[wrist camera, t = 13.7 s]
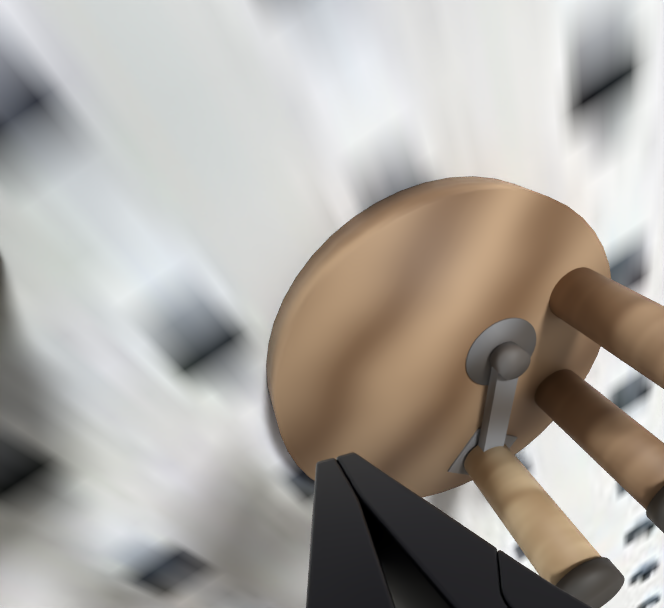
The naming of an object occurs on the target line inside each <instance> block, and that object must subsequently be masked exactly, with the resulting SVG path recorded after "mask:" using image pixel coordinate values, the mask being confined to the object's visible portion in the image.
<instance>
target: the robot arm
mask: <svg viewBox="0 0 664 608" xmlns="http://www.w3.org/2000/svg"><path fill="white" fill-rule="evenodd" d="M306 608H593V607H591V606H589V605H587V604H586V603H584V602H582V601H581V600H579V599H577V598H575V597H574V596H572V595H570V594H569V593H567V592H565V591H564V590H562V589H560V588H558V587H557V586H555V585H553V584H552V583H550V582H548V581H547V580H545V579H544V578H542V577H541V576H539V575H537V574H536V573H534V572H533V571H531V570H530V569H528V568H527V567H525V566H523V565H522V564H520V563H519V562H517V561H516V560H514V559H513V558H511V557H510V556H508V555H507V554H505V553H504V552H503V551H501V550H499V551H498V552H497V549H496V548H495V547H494V546H493V545H491V544H490V543H488V542H487V541H485V540H484V539H482V538H481V537H479V536H478V535H476V534H475V533H473V532H472V531H470V530H469V529H467V528H466V527H464V526H463V525H461V524H460V523H459V522H457V521H456V520H454V519H453V518H451V517H450V516H448V515H447V514H445V513H444V512H442V511H441V510H439V509H438V508H436V507H435V506H433V505H432V504H430V503H429V502H427V501H426V500H425V499H423V498H422V497H420V496H419V495H417V494H416V493H414V492H413V491H411V490H410V489H408V488H407V487H405V486H404V485H402V484H401V483H399V482H398V481H396V480H395V479H393V478H392V477H390V476H389V475H388V474H386V473H385V472H383V471H382V470H380V469H379V468H377V467H376V466H374V465H373V464H371V463H370V462H368V461H367V460H365V459H364V458H362V457H361V456H359V455H358V454H356V453H354V452H352V453H348V454H344V455H340V456H338V457H337V458H336V459H335V458H329V459H326V460H322V461H319V462H317V464H316V472H315V486H314V501H313V515H312V530H311V544H310V558H309V573H308V587H307V602H306Z"/></svg>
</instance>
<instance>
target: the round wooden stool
mask: <svg viewBox="0 0 664 608" xmlns="http://www.w3.org/2000/svg"><path fill="white" fill-rule="evenodd" d="M509 341H511V342H515V343H516V344H517V345H519V346H520V347H521V348H522V349H523V350H524V351H526V352H527V353H528V354H529V355H530V358H531V362H530V365H529V367H528V369H527V370H526V371H525V372H524V373H523V374H522V375H521V376H519V377H518V381H517V386H516V391H515V395H514V400H513V405H512V410H511V414H510V419H509V424H508V428H507V433H506V438H505V442H504V443H505V444H506V446H507V447H508V448H509V449H510V450H511V451H512V453H513V454H514V455H515V454H516V453H518V452H519V451H520V450H522V449H523V448H524V447H526V446H527V445H528V444H529V443H530V442H531V441H533V440H534V439H535V438H536V437H537V436H538V435H539V434H541V433H542V432H543V431H544V430H545V429H546V428H547V427H548V426H549V424H550V423H551V422H552V421H554V422H555V423H556V424H557V425H558V426H559V427H561V428H562V429H563V430H564V431H565V432H566V433H567V434H568V435H569V436H570V437H571V438H572V439H573V440H574V441H575V442H576V443H577V444H578V445H579V446H580V447H581V448H582V449H583V450H584V451H585V452H587V453H588V454H589V455H590V456H591V457H592V458H593V459H594V460H595V461H596V462H597V463H598V464H599V465H600V466H601V467H602V468H603V469H604V470H605V471H606V472H607V473H608V474H609V475H610V476H611V477H613V478H614V479H615V480H616V481H617V482H618V483H619V484H620V485H621V486H622V487H623V488H624V489H625V490H626V491H627V492H628V493H629V494H630V495H631V496H632V497H633V498H634V499H635V500H636V501H637V502H639V503H640V504H641V505H642V506H643V507H644V508H645V509H646V515H647V517H648V518H649V519H650V520H651V521H652V522H653V523H654V524H655V525H656V526H657V527H658V528H659V529H660V530H661V531H662V532H663V533H664V443H663V442H662V441H660V440H659V439H658V438H657V437H655V436H654V435H653V434H652V433H650V432H649V431H648V430H646V429H645V428H644V427H643V426H641V425H640V424H639V423H638V422H636V421H635V420H634V419H633V418H631V417H630V416H629V415H627V414H626V413H625V412H624V411H622V410H621V409H620V408H619V407H617V406H616V405H615V404H614V403H612V402H611V401H610V400H609V399H607V398H606V397H605V396H603V395H602V394H601V393H600V392H598V391H597V390H596V389H595V388H593V387H592V386H591V385H590V384H588V383H587V382H586V381H584V379H585V378H586V376H587V374H588V373H589V371H590V369H591V367H592V365H593V363H594V361H595V359H596V357H597V355H598V352H599V349H600V347H603V348H604V349H606V350H607V351H609V352H610V353H612V354H613V355H615V356H616V357H617V358H619V359H620V360H622V361H623V362H625V363H626V364H628V365H629V366H631V367H632V368H634V369H635V370H637V371H638V372H640V373H641V374H642V375H644V376H645V377H647V378H648V379H650V380H651V381H653V382H654V383H656V384H657V385H659V386H660V387H662V388H663V389H664V306H662V305H660V304H658V303H656V302H654V301H652V300H650V299H648V298H646V297H645V296H643V295H641V294H639V293H637V292H635V291H633V290H631V289H629V288H627V287H625V286H623V285H621V284H619V283H617V282H615V281H613V280H611V275H610V268H609V263H608V260H607V257H606V254H605V251H604V248H603V246H602V244H601V242H600V241H599V239H598V237H597V235H596V233H595V232H594V230H593V229H592V228H591V227H590V226H589V225H588V223H587V222H586V221H585V220H584V219H583V218H582V217H581V216H580V215H578V214H577V213H576V212H575V211H573V210H572V209H571V208H569V207H568V206H566V205H564V204H562V203H560V202H558V201H556V200H554V199H552V198H550V197H548V196H545V195H542V194H540V193H537V192H534V191H532V190H529V189H526V188H524V187H521V186H518V185H516V184H512V183H509V182H505V181H502V180H498V179H493V178H484V177H474V176H472V177H452V178H445V179H440V180H435V181H430V182H425V183H422V184H419V185H416V186H413V187H410V188H408V189H405V190H402V191H399V192H397V193H395V194H393V195H391V196H389V197H387V198H385V199H383V200H381V201H379V202H377V203H375V204H373V205H372V206H370V207H369V208H367V209H366V210H364V211H363V212H361V213H360V214H358V215H356V216H355V217H353V218H352V219H351V220H350V221H348V222H347V223H346V224H345V225H344V226H342V227H341V228H340V229H339V230H338V231H336V232H335V233H334V234H333V235H332V236H330V237H329V239H328V240H327V241H326V242H325V243H324V244H323V245H322V246H321V247H320V248H319V249H318V250H317V251H316V252H315V253H314V254H313V255H312V257H311V258H310V259H309V261H308V262H307V263H306V265H305V266H304V267H303V269H302V270H301V271H300V273H299V274H298V275H297V277H296V278H295V280H294V282H293V284H292V285H291V287H290V289H289V291H288V292H287V294H286V296H285V298H284V299H283V302H282V304H281V307H280V309H279V311H278V314H277V316H276V319H275V321H274V325H273V329H272V333H271V337H270V340H269V345H268V355H267V364H266V367H267V384H268V389H269V393H270V398H271V402H272V406H273V409H274V413H275V416H276V420H277V424H278V427H279V431H280V434H281V437H282V439H283V441H284V444H285V446H286V448H287V451H288V452H289V454H290V455H291V457H292V458H293V460H294V461H295V463H296V464H297V465H298V466H299V467H300V468H301V469H302V470H303V471H304V472H305V473H306V474H307V475H308V476H309V477H310V478H311V479H313V480H314V481H315V472H316V464H317V462H319V461H322V460H326V459H329V458H335V459H336V458H337V457H338V456H340V455H344V454H348V453H352V452H354V453H356V454H358V455H359V456H361V457H362V458H364V459H365V460H367V461H368V462H370V463H371V464H373V465H374V466H376V467H377V468H379V469H380V470H382V471H383V472H385V473H386V474H388V475H389V476H390V477H392V478H393V479H395V480H396V481H398V482H399V483H401V484H402V485H404V486H405V487H407V488H408V489H410V490H411V491H413V492H414V493H416V494H417V495H419V496H420V497H426V496H430V495H434V494H438V493H441V492H444V491H447V490H450V489H452V488H455V487H458V486H460V485H463V484H465V483H467V482H469V481H472V478H471V477H470V476H469V474H468V473H467V471H466V470H465V467H464V463H465V459H466V457H467V456H468V454H469V453H470V452H471V451H472V450H473V449H474V448H475V447H476V446H477V445H478V443H479V437H480V431H481V426H482V420H483V414H484V408H485V402H486V397H487V391H488V385H489V379H490V374H491V368H492V366H491V364H490V357H491V354H492V353H493V351H494V350H495V349H496V348H497V347H498V346H499V345H501V344H502V343H505V342H509Z"/></svg>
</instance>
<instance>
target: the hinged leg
mask: <svg viewBox="0 0 664 608" xmlns="http://www.w3.org/2000/svg"><path fill="white" fill-rule="evenodd" d="M530 362H531V358H530V355H529V354H528V353H527V352H526V351H524V350H523V349H522V348H521V347H520V346H519V345H517V344H516V343H515V342H511V341H509V342H505V343H502V344H501V345H499V346H498V347H497V348H496V349H495V350H494V351H493V353H492V354H491V357H490V364H491V366H492V368H491V374H490V379H489V385H488V391H487V397H486V402H485V408H484V414H483V420H482V426H481V431H480V437H479V443H478V445H477V446H476V447H475V448H474V449H473V450H472V451H471V452H470V453H469V454H468V456H467V457H466V459H465V463H464V467H465V470H466V471H467V473H468V474H469V476H470V477H471V478H472V480H473V481H474V483H475V484H476V485H477V487H478V488H479V490H480V491H481V493H482V494H483V495H484V497H485V498H486V500H487V501H488V503H489V504H490V505H491V507H492V508H493V510H494V511H495V512H496V514H497V515H498V517H499V518H500V520H501V521H502V522H503V524H504V525H505V527H506V528H507V530H508V531H509V532H510V534H511V535H512V537H513V538H514V539H515V541H516V542H517V544H518V545H519V547H520V548H521V549H522V551H523V552H524V554H525V555H526V557H527V558H528V559H529V561H530V562H531V564H532V565H533V566H534V568H535V569H536V571H537V572H538V574H539V575H540V576H541V577H542V578H544V579H545V580H547V581H548V582H550V583H552V584H553V585H555V586H557V587H558V588H560V589H562V590H564V591H565V592H567V593H569V594H570V595H572V596H574V597H575V598H577V599H579V600H581V601H582V602H584V603H586V604H587V605H589V606H591V607H593V608H600V607H602V606H603V605H604V604H606V603H607V602H608V601H609V600H611V599H612V598H613V597H614V596H615V595H616V594H617V592H618V591H619V590H620V589H621V587H622V585H623V583H624V576H623V575H622V574H621V573H620V571H619V570H618V569H617V568H616V567H615V566H614V565H613V563H612V562H611V561H610V560H609V559H608V558H605V557H601V556H600V555H599V553H598V552H597V551H596V550H595V549H594V548H593V546H592V545H591V544H590V543H589V542H588V541H587V539H586V538H585V537H584V536H583V535H582V533H581V532H580V531H579V530H578V529H577V528H576V526H575V525H574V524H573V523H572V522H571V521H570V519H569V518H568V517H567V516H566V515H565V514H564V512H563V511H562V510H561V509H560V508H559V507H558V505H557V504H556V503H555V502H554V501H553V499H552V498H551V497H550V496H549V495H548V494H547V492H546V491H545V490H544V489H543V488H542V487H541V485H540V484H539V483H538V482H537V481H536V480H535V478H534V477H533V476H532V475H531V474H530V473H529V471H528V470H527V469H526V468H525V467H524V465H523V464H522V463H521V462H520V461H519V460H518V458H517V457H516V456H515V455H514V454H513V453H512V451H511V450H510V449H509V448H508V447H507V446H506V444H505V443H504V442H505V438H506V433H507V428H508V424H509V419H510V414H511V410H512V405H513V400H514V395H515V391H516V386H517V381H518V377H519V376H521V375H522V374H523V373H524V372H525V371H526V370H527V369H528V367H529V365H530Z"/></svg>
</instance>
